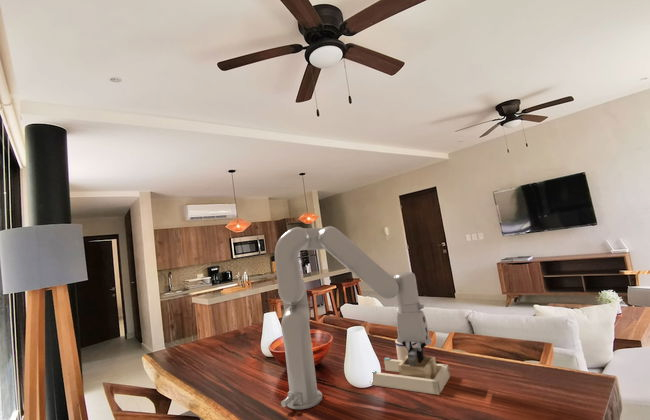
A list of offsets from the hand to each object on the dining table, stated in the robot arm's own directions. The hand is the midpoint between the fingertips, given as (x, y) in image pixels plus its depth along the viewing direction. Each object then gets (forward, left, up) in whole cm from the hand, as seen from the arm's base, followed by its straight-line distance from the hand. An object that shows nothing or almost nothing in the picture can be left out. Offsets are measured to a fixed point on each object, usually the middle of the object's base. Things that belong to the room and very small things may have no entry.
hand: (416, 360), depth 115 cm
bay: (0, +4, -8) cm, 9 cm away
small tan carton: (0, 0, -7) cm, 7 cm away
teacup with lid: (+19, +11, -8) cm, 23 cm away
